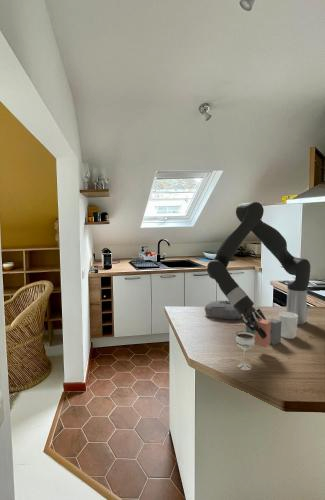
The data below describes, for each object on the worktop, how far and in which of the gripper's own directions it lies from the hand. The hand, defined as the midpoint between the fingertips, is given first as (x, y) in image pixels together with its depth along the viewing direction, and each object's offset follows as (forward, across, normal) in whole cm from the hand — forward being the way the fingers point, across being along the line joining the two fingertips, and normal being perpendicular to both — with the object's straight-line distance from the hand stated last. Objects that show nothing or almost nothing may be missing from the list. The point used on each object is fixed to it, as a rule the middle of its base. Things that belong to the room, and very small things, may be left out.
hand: (267, 335), depth 118 cm
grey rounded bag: (-20, +30, +31) cm, 48 cm away
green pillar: (-4, +16, +15) cm, 22 cm away
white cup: (+6, +24, +5) cm, 25 cm away
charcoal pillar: (+4, +13, +7) cm, 15 cm away
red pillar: (+2, 0, +4) cm, 5 cm away
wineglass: (+4, -16, +7) cm, 17 cm away
